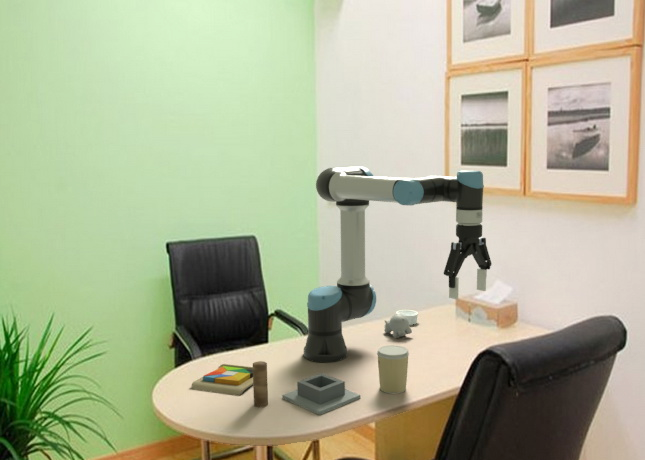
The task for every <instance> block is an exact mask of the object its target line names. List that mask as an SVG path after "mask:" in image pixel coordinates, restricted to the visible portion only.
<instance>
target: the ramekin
mask: <svg viewBox="0 0 645 460" xmlns="http://www.w3.org/2000/svg"><path fill="white" fill-rule="evenodd" d="M396 314H402V315H404V316H406V318H407V319H408V322H409V326H414V325H416V324H417V322H418V316H419V312H418V311H416V310H411V309H401V310H397V311H396V312H395V315H396ZM413 324H414V325H413Z"/></svg>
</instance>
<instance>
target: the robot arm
mask: <svg viewBox="0 0 645 460" xmlns="http://www.w3.org/2000/svg"><path fill="white" fill-rule="evenodd" d="M484 187H485V185H484V174H483V172H482V171H480V170H475V169H474V170H469V169H468V170H464V169H463V170H458V171H457V173H456V176H446V175H445V176H442V175H437V174H436V175H428V176H426V177H415V178H413V177H392V176H389V177H388V176H374V174H373V173H372V172H371V171H370V169H369V168H367V167H365V166H359V165H358V166H357V165H352V166H351V165H349V166H340V167H339V166H338V167H328V168H326V169H324V170H323V171H321V172H320V173H319V175H318V177H317V179H316V181H315V189H316V192H317V194H318V195H319V197H321V198H322V200H325V201H327V202H332V203H333V202H335V206H336V207H337V208H338V209H339V210H340V272H341V273H340V276H339V278H338V280H336V285H325V286H319V287H316V288H314V289H312V290H310V291H309V293H308V295H307V303H306V305H307V306H306V307H307V325H308V326H307V329H308V330H307V331H308V333H307V337H306V341H305V346H304V347H303V357H304V358H305V359H307V360H308V361H310V362H315V363H316V362H317V363H334V362H339V361H342V360H344V359H346V358H347V357H348V347H347V345H346V342H345V341H346V340H345V338H344V336H343V327H342V325H343V323H344V322H349V321H352V320H355V319H361V318H364V317H365V316H368V315H370V313H372V312H373V311H374V309H375V307H376V303H377V292H376V291H375V290H374V287H373V286H372V285H371V283H370V280H369V278H368V277H366V209H367V208H368V207H369V206H370V201H373V202H384V203H396V204H399V205H401V206H414V205H420V204H429V203H430V204H431V203H438V202H449V203H455V204H456V205H455V206H456V207H455V208H456V211H455V221H456V223H457V224H456V225H455V236H456V237H457V238H458V241H457V242H455V241H452V242H451V243H450V252H449V254H448V257H447V261H446V264H445V267H444V270H443V275H444V276H446V277H448V289H449V290H448V298H449V299H452V300H453V299H454V300H459V282H460V281H459V279H460V277H459V276H458V274H459V272H460V270H461V267H462V266H463V263H464V261H465V260H466V259H467V258H468V257H470V256H471V255H472V257H473V259H474V260H475V262H476V264H477V266H478V267H479V268H477V269H476V290H477V291H481V292H486V291H487V272H488V271H487V270H490V269H491V267H492V261H491V258H490V253H489V249H488V247H487V238H486V237H483V225H482V224H481V223H483V209H484V207H483V205H484V204H483V201H484V197H483V196H484Z"/></svg>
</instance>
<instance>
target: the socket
mask: <svg viewBox="0 0 645 460" xmlns="http://www.w3.org/2000/svg"><path fill="white" fill-rule="evenodd" d="M296 382H297V384H296V385H297V389H295V390H291V391H290V392H289V391H288V392H286V393H284V394H281V395H282V396H281V397H282V399H283V400H285V401H287V402H290V403H292V404H295V405H297V406H299V407H302V408H304V409H305V410H308V411H309V412H312V413H314V414H317V415H318V416H320V415H323V414H325V413H328V412H330V411H333V410H336V409H337V408H341V407H343V406H345V405H347V404H351V403H352V402H355V401H357V400H359V399H361V394H358V393H356V392H354V391H352V390H349V389H346V386H345V385H346V384H345V383H346V382H345V381H344V380H342V379H338V378H336V377H334V376H331V375H328V374H326V373H323V372H320V373H318V374H316V375H312V376H310V377H306V378H304V379H301V380H299V381H296Z"/></svg>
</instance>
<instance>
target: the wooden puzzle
mask: <svg viewBox="0 0 645 460" xmlns="http://www.w3.org/2000/svg"><path fill="white" fill-rule="evenodd" d="M250 387H253V366H245V365H237V364H227V363H222V364H220V366H218V367H217V368H216V369H215V370H213V371H210V372H209V373H206V374H204V375H203V376H202V377H200V378H197V379H196V380H193V382H192V383H191V389H192V388H193V389H192V390H195V389H197V390H196V391H202V390H204V391H203V392H209V391H212V392H211V393H217V392H218V393H217V394H223V395H224V394H225V395H226V394H227V395H232V396H241V395H242V394H243V392H244V391H245V390H247V389H249V388H250Z"/></svg>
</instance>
